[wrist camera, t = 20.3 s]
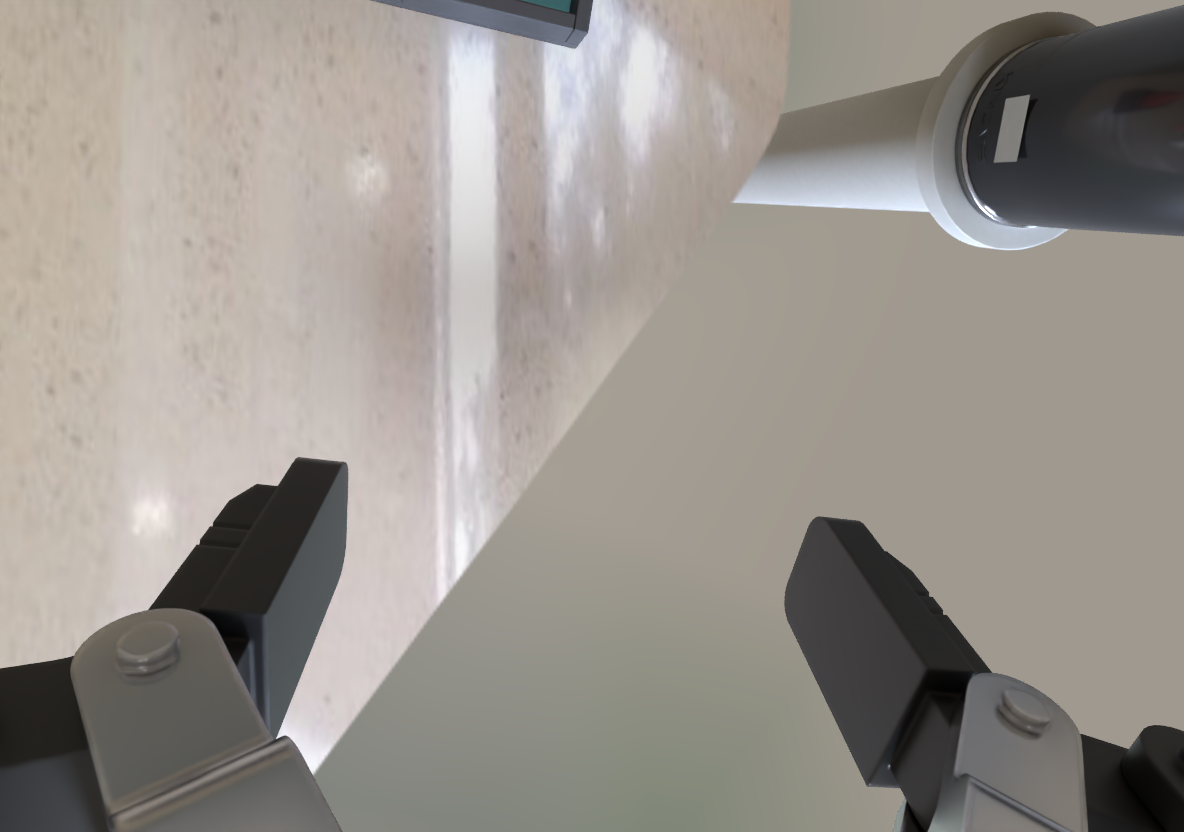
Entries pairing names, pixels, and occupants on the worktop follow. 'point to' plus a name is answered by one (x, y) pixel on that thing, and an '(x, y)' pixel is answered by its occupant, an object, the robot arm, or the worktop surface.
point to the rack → (514, 16)
